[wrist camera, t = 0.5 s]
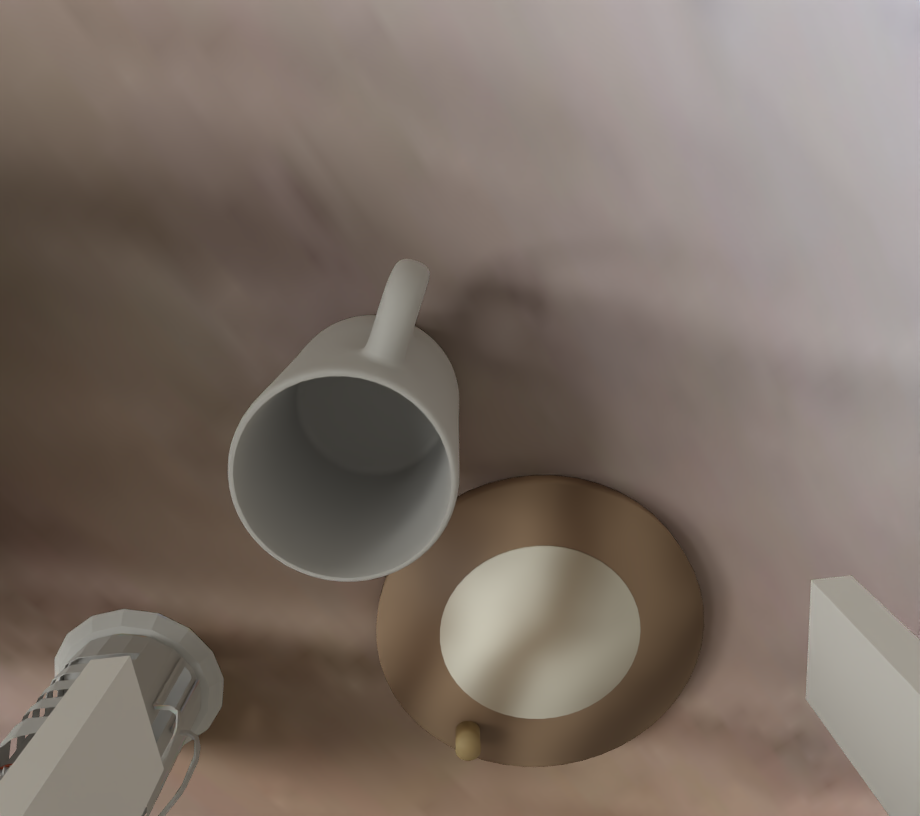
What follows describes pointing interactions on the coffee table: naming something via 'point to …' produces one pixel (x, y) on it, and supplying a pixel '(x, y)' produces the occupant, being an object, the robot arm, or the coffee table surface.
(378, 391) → the mug
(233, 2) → the coffee table surface
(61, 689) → the french press
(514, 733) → the ring
